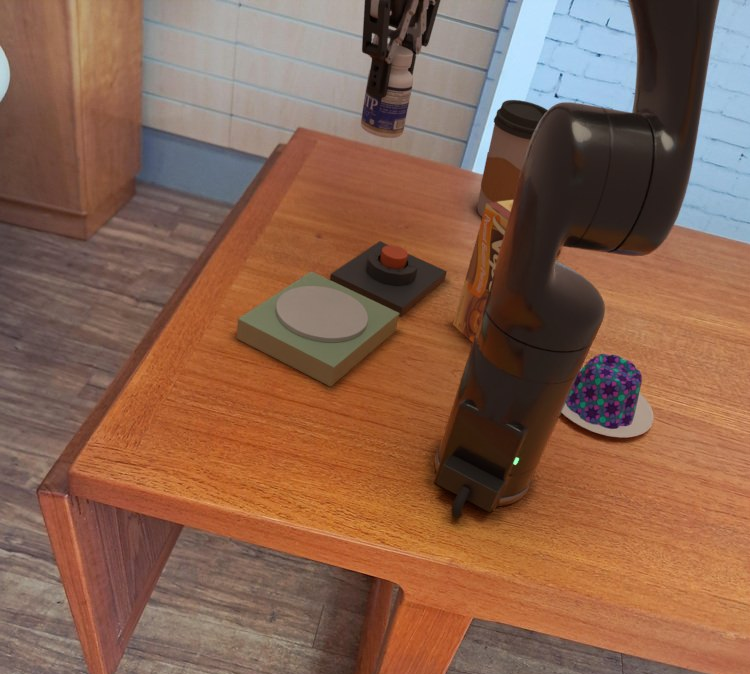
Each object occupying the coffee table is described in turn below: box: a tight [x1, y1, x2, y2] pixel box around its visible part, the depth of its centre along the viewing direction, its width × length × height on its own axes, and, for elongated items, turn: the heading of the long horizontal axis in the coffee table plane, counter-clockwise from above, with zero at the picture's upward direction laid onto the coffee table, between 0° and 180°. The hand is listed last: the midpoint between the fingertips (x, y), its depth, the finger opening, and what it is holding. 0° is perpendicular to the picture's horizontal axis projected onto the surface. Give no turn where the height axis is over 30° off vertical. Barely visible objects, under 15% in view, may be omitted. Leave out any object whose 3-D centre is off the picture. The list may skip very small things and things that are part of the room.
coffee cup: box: [476, 99, 549, 218], centre depth 112 cm, size 8×8×15 cm
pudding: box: [561, 353, 655, 438], centre depth 85 cm, size 12×12×5 cm
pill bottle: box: [360, 43, 414, 139], centre depth 91 cm, size 5×5×9 cm
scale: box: [236, 270, 400, 387], centre depth 85 cm, size 14×12×3 cm
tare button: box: [380, 244, 409, 269], centre depth 95 cm, size 3×3×2 cm
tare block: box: [329, 240, 448, 318], centre depth 96 cm, size 12×10×3 cm
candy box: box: [452, 200, 564, 344], centre depth 86 cm, size 9×4×15 cm, turn 33°
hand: (388, 90), depth 91 cm, fingers closed on pill bottle, 5 cm apart
